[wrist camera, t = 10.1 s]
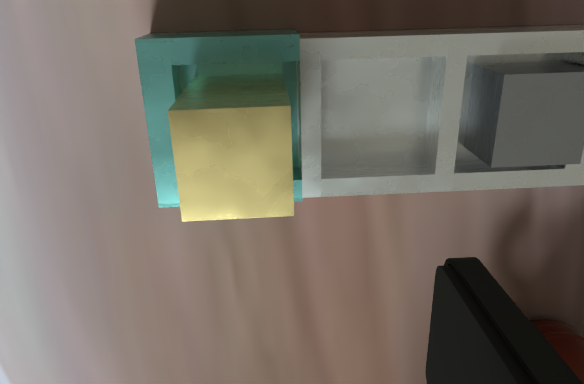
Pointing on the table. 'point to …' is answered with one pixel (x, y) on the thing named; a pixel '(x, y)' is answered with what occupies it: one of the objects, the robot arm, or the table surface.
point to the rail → (361, 102)
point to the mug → (565, 343)
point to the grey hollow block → (526, 114)
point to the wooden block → (233, 147)
